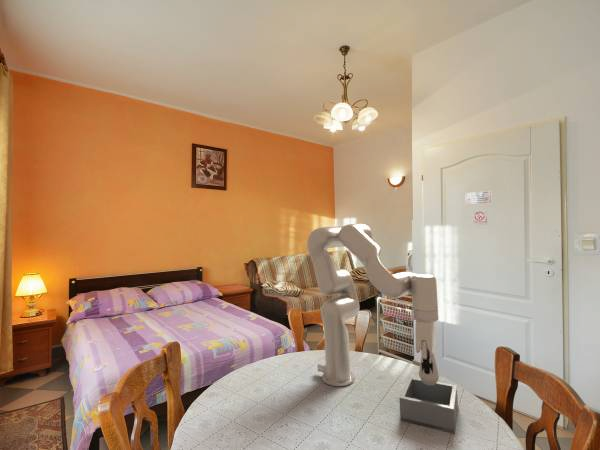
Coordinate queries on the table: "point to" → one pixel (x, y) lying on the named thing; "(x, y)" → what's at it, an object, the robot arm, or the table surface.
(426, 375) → the salt shaker
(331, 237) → the robot arm
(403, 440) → the table surface
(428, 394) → the bin
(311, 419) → the table surface
